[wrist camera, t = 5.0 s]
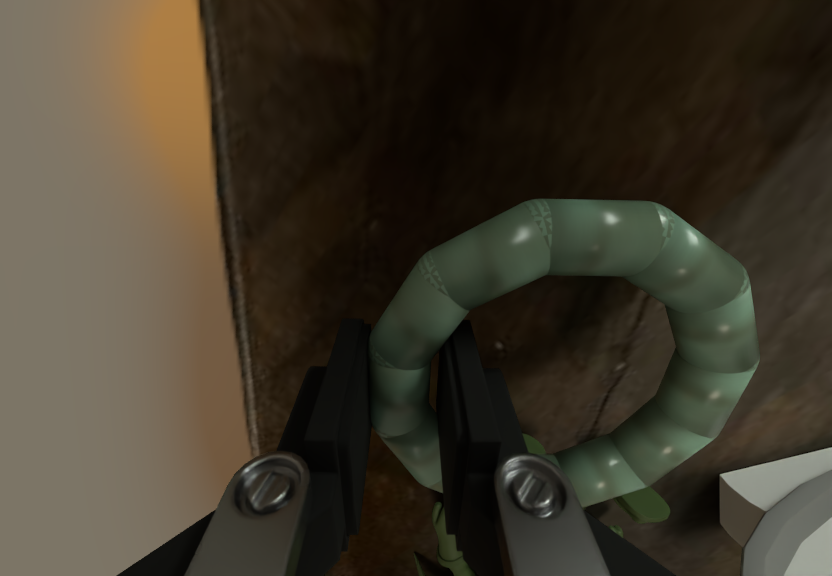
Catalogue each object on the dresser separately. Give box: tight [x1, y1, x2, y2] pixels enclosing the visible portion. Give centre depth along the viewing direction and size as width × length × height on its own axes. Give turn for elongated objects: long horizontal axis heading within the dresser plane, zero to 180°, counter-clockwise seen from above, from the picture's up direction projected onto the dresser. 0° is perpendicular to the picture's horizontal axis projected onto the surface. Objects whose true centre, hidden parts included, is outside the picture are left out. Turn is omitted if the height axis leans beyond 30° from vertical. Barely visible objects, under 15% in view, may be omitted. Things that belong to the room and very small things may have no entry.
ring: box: [368, 199, 760, 508], centre depth 10 cm, size 10×10×2 cm
